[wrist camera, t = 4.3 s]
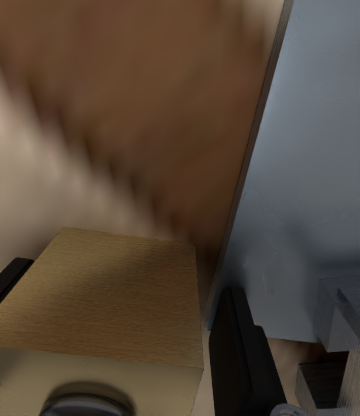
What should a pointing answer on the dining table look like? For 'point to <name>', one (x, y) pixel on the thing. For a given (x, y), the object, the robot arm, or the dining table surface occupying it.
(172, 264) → the block
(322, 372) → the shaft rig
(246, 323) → the robot arm
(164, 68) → the dining table surface
